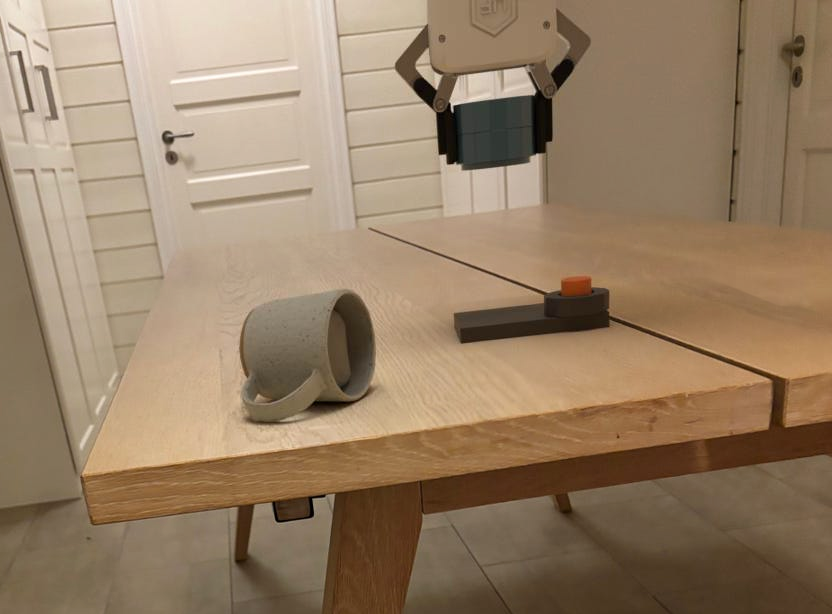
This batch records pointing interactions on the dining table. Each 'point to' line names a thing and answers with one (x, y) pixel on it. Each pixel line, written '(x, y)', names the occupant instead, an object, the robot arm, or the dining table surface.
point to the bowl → (495, 132)
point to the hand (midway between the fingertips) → (495, 156)
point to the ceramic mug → (306, 353)
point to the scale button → (576, 286)
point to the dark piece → (536, 317)
